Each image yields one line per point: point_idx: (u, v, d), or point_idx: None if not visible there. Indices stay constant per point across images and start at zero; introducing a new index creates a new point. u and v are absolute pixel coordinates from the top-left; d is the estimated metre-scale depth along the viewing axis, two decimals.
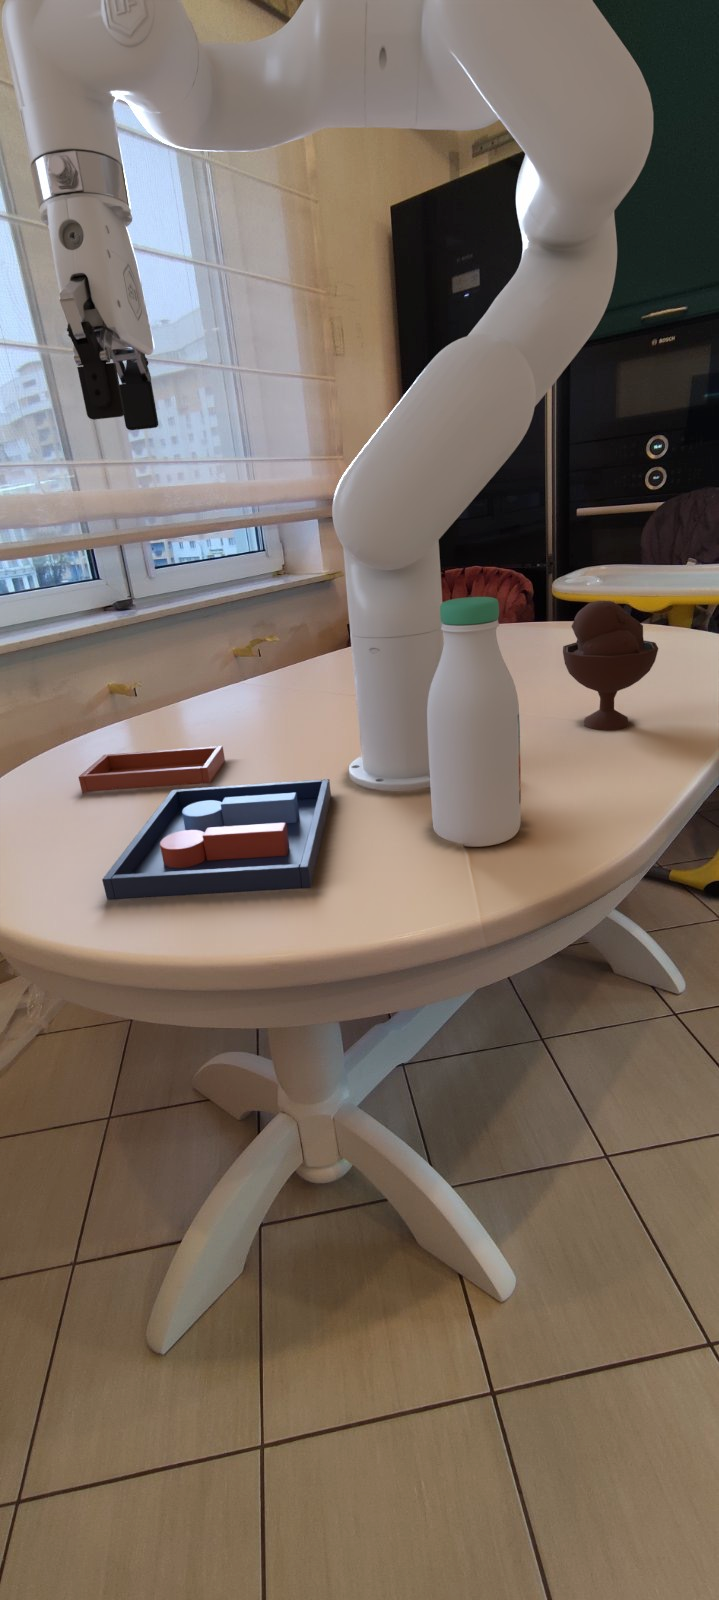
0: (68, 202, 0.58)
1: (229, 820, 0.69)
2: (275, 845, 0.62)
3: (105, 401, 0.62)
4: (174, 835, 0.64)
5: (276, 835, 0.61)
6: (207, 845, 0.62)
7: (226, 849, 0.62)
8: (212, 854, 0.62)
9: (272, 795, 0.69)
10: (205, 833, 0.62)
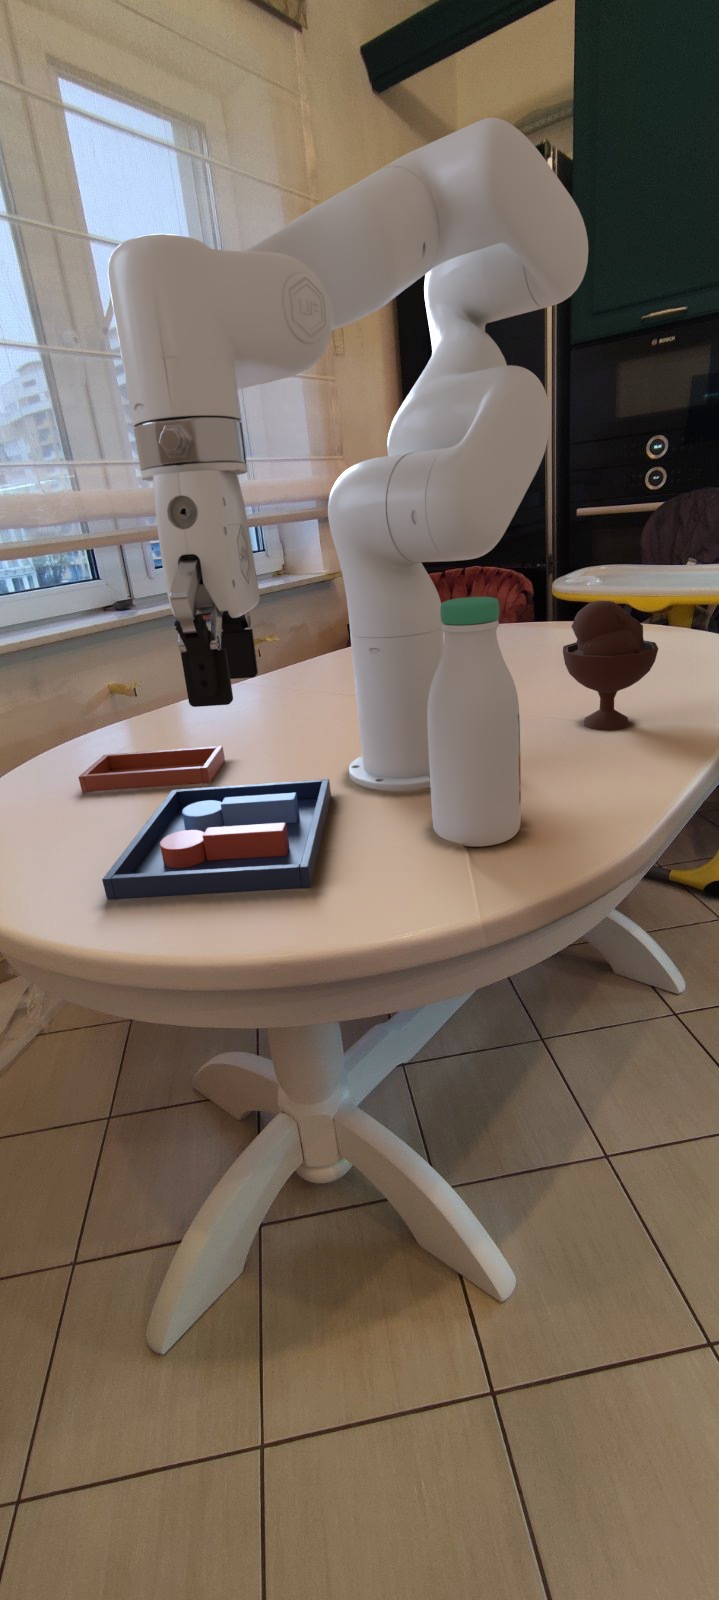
0: (181, 476, 0.48)
1: (229, 820, 0.69)
2: (275, 845, 0.62)
3: (213, 692, 0.52)
4: (174, 835, 0.64)
5: (276, 835, 0.61)
6: (207, 845, 0.62)
7: (226, 849, 0.62)
8: (212, 854, 0.62)
9: (272, 795, 0.69)
10: (205, 833, 0.62)
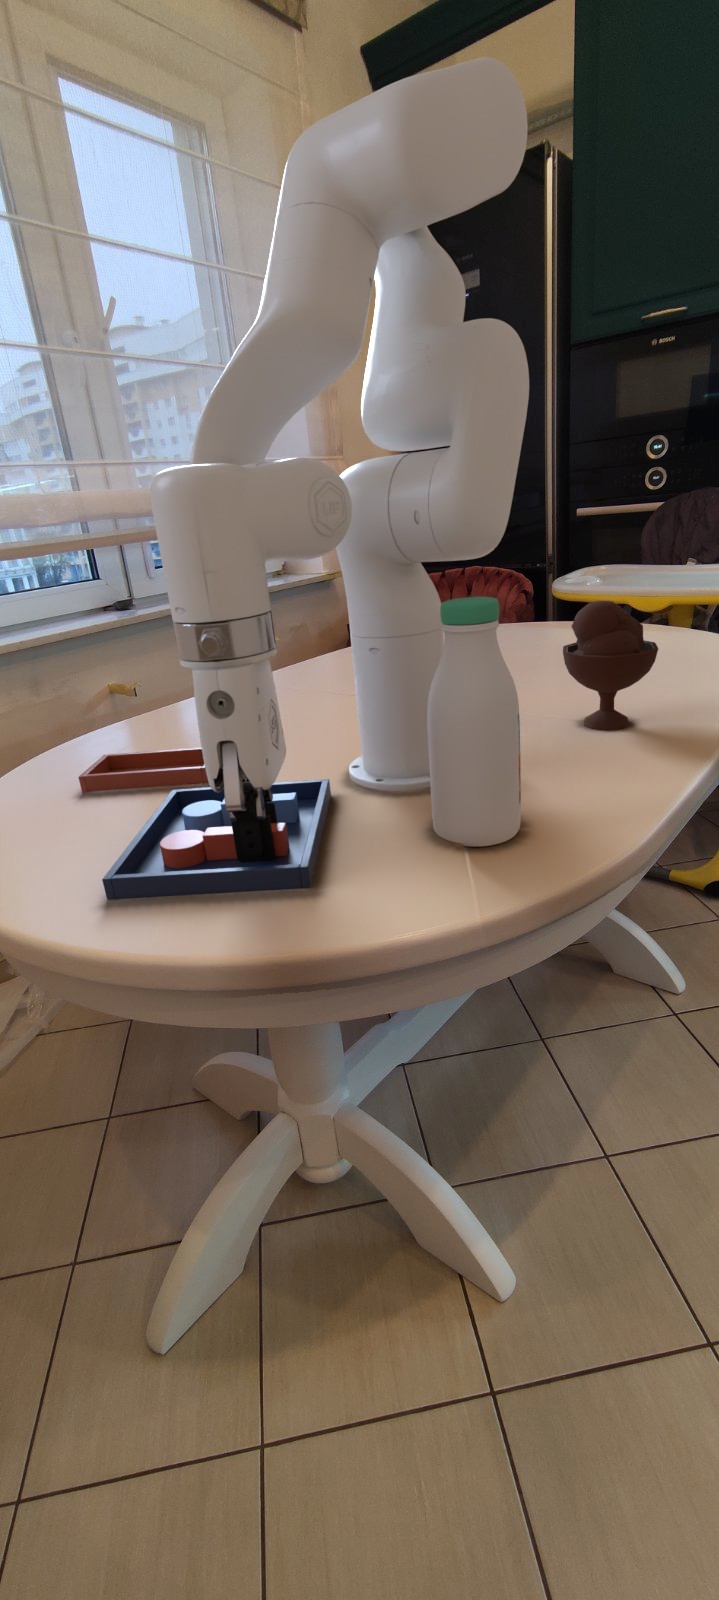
0: (219, 674, 0.53)
1: (229, 820, 0.69)
2: (275, 845, 0.62)
3: (259, 853, 0.60)
4: (174, 835, 0.64)
5: (276, 835, 0.61)
6: (207, 845, 0.62)
7: (226, 849, 0.62)
8: (212, 854, 0.62)
9: None
10: (205, 833, 0.62)
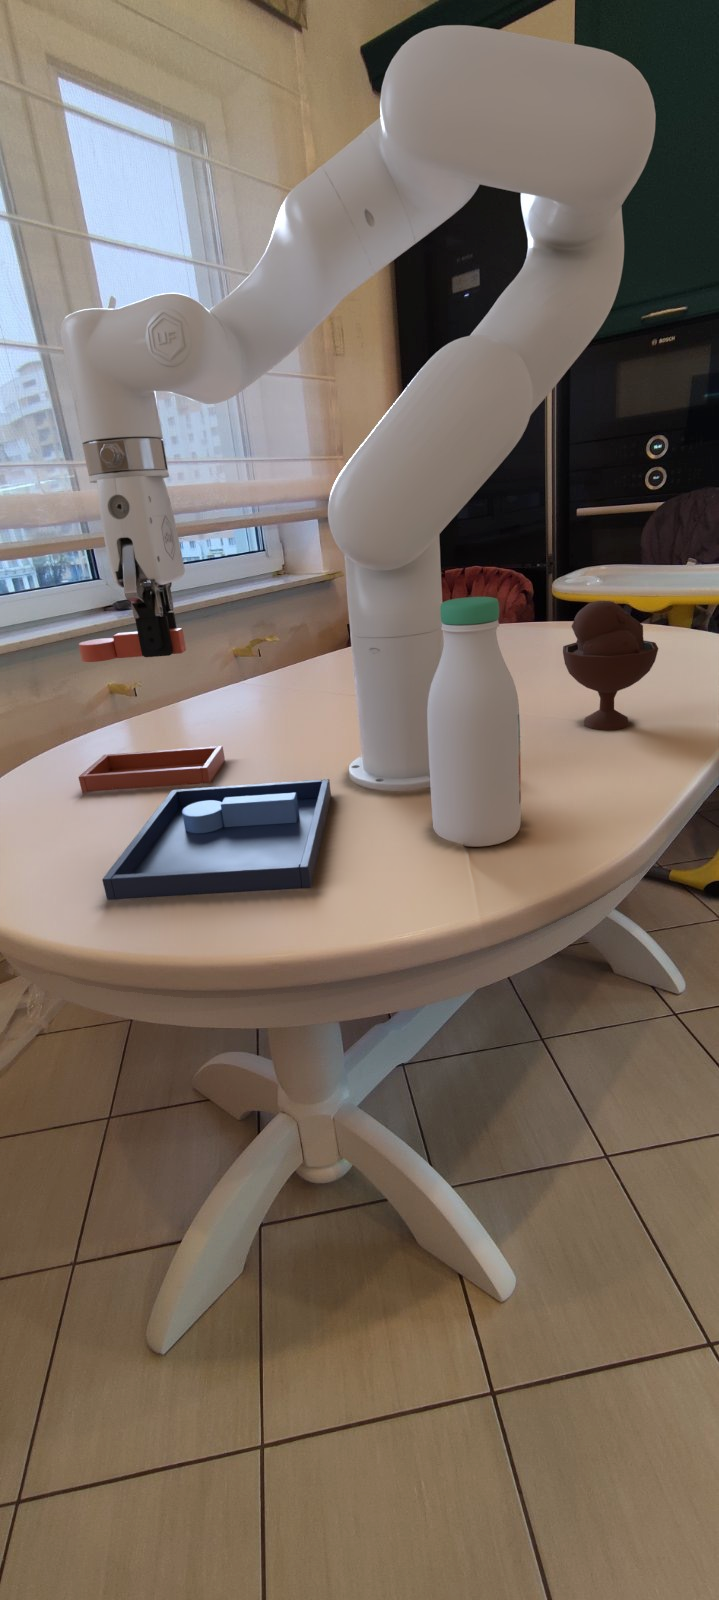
0: (116, 481, 0.67)
1: (229, 820, 0.69)
2: (172, 643, 0.76)
3: (158, 646, 0.74)
4: (92, 640, 0.78)
5: (172, 634, 0.75)
6: (117, 644, 0.76)
7: (133, 647, 0.76)
8: (121, 652, 0.76)
9: (272, 795, 0.69)
10: (115, 634, 0.76)
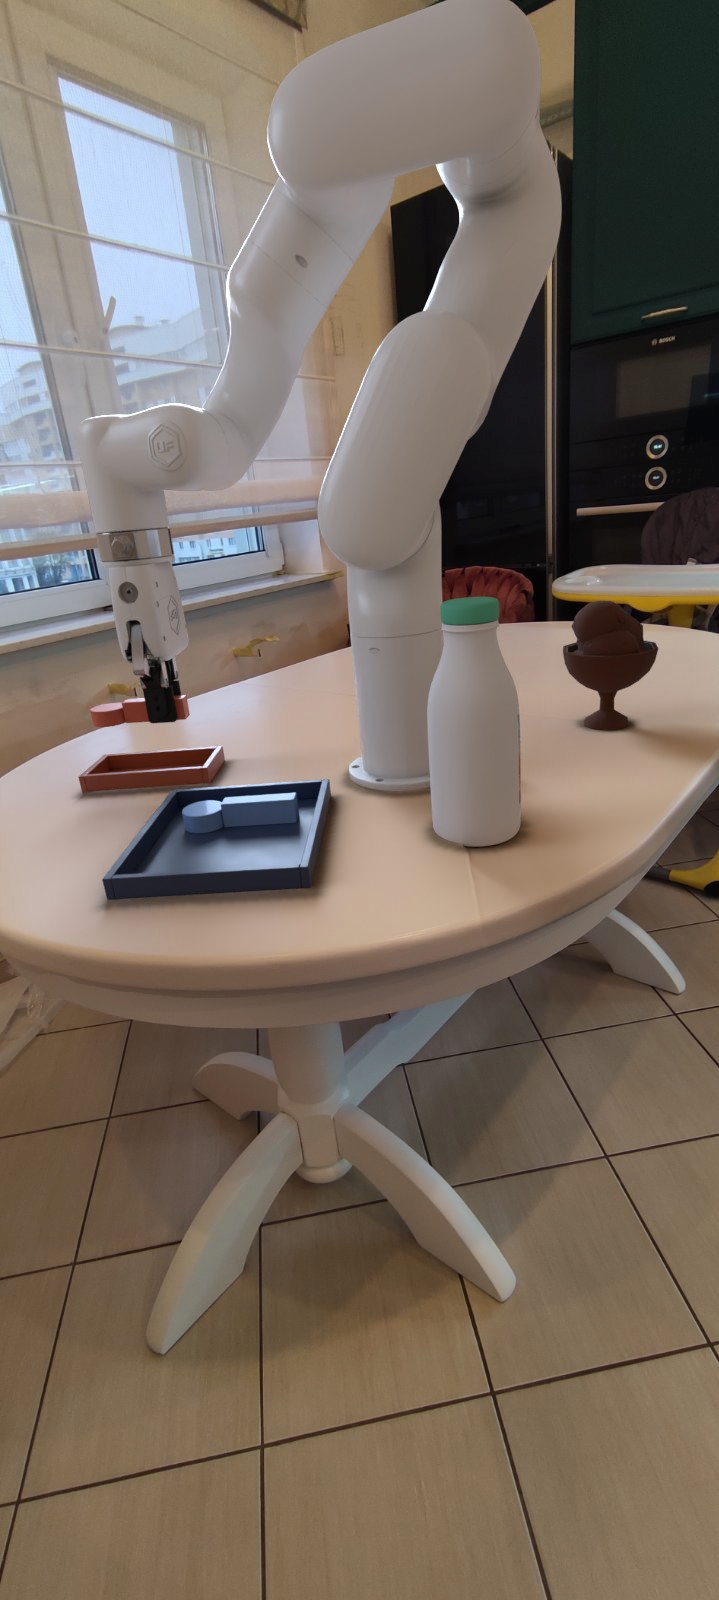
0: (126, 569, 0.72)
1: (229, 820, 0.69)
2: (177, 710, 0.81)
3: (163, 714, 0.80)
4: (102, 705, 0.83)
5: (177, 702, 0.81)
6: (125, 710, 0.82)
7: (140, 713, 0.82)
8: (129, 718, 0.82)
9: (272, 795, 0.69)
10: (124, 701, 0.82)
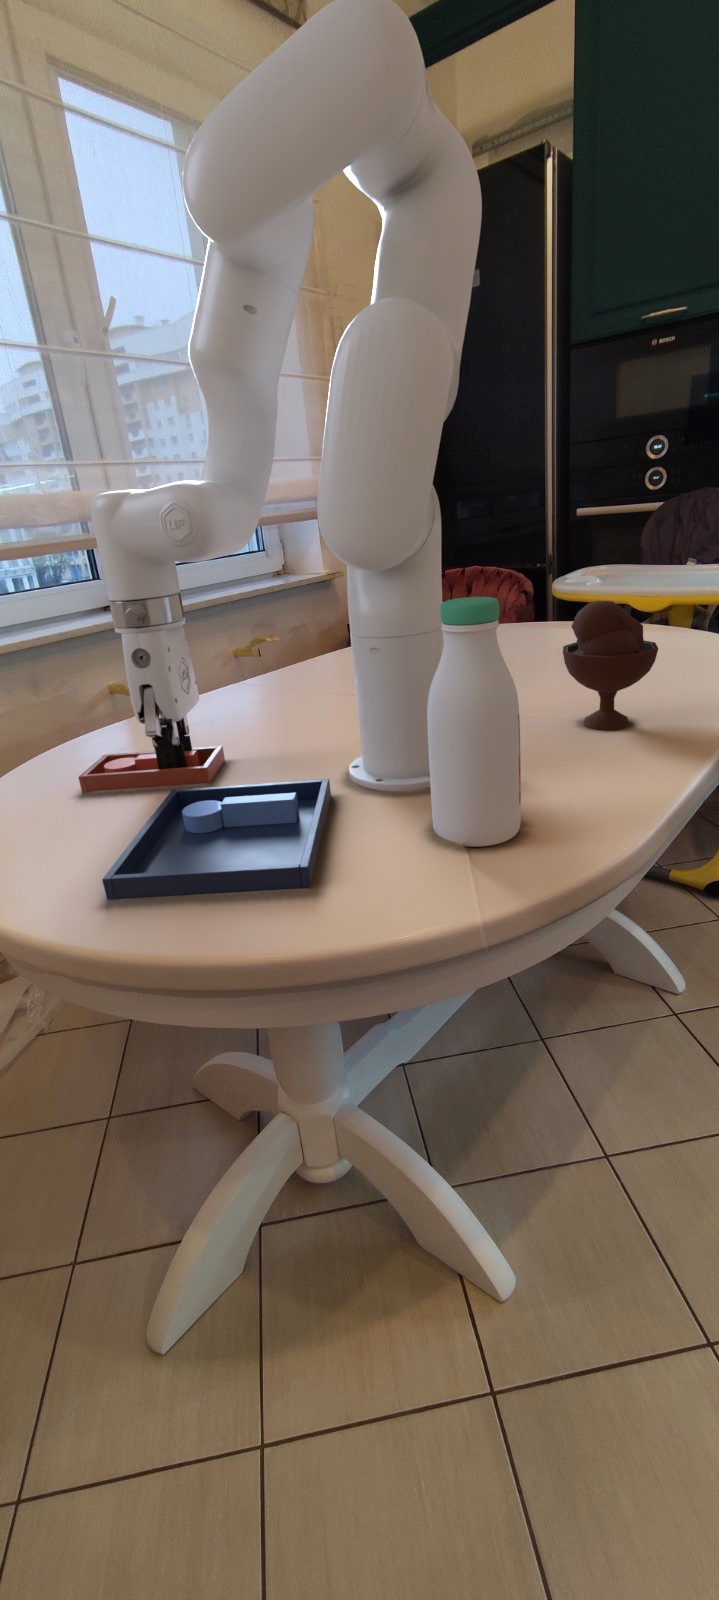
0: (139, 636, 0.75)
1: (229, 820, 0.69)
2: (188, 766, 0.84)
3: None
4: (115, 761, 0.86)
5: (188, 758, 0.84)
6: (138, 766, 0.84)
7: (152, 769, 0.84)
8: None
9: (272, 795, 0.69)
10: (137, 758, 0.84)
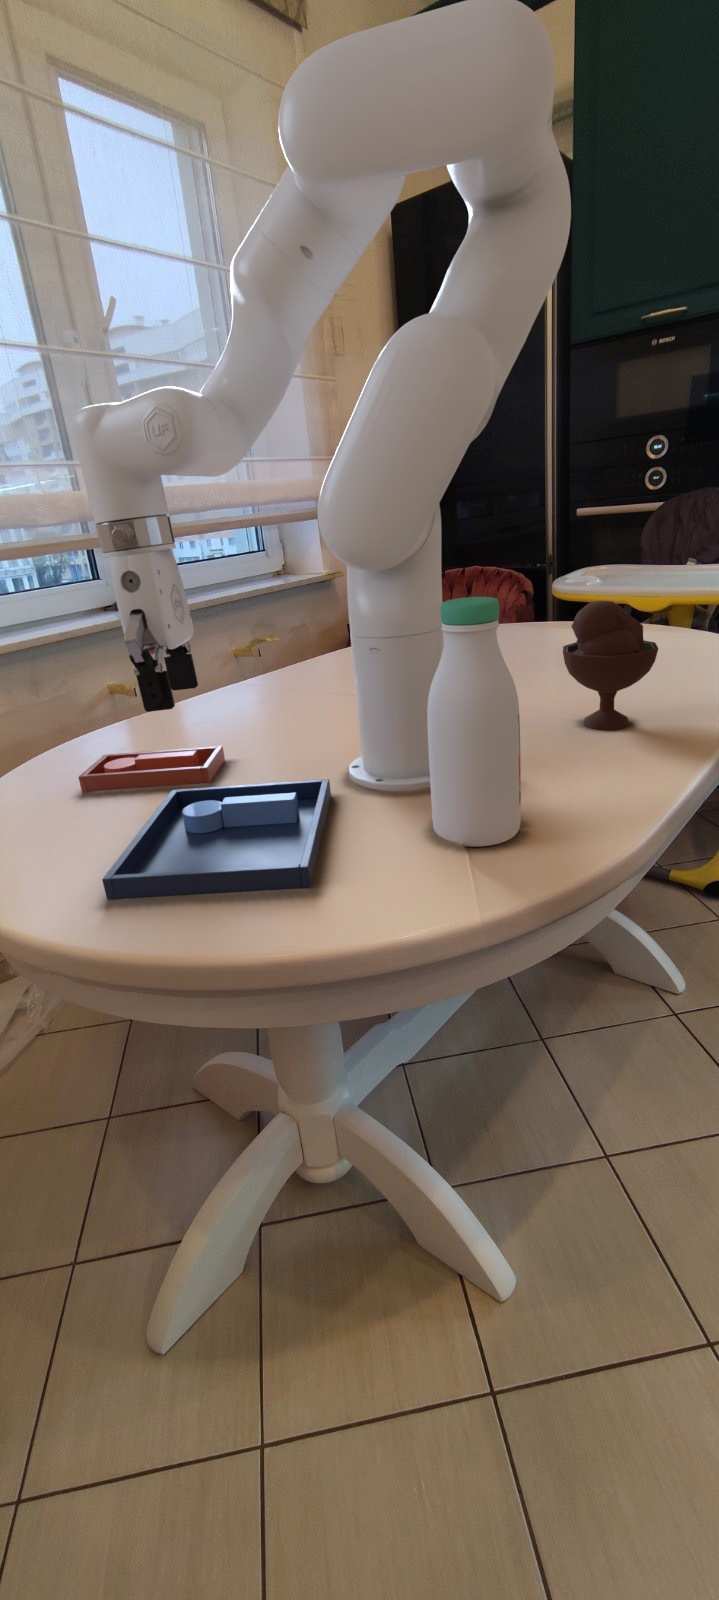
0: (127, 558, 0.72)
1: (229, 820, 0.69)
2: (188, 766, 0.84)
3: (159, 701, 0.76)
4: (115, 761, 0.86)
5: (188, 758, 0.84)
6: (138, 766, 0.84)
7: (152, 769, 0.84)
8: None
9: (272, 795, 0.69)
10: (137, 758, 0.84)
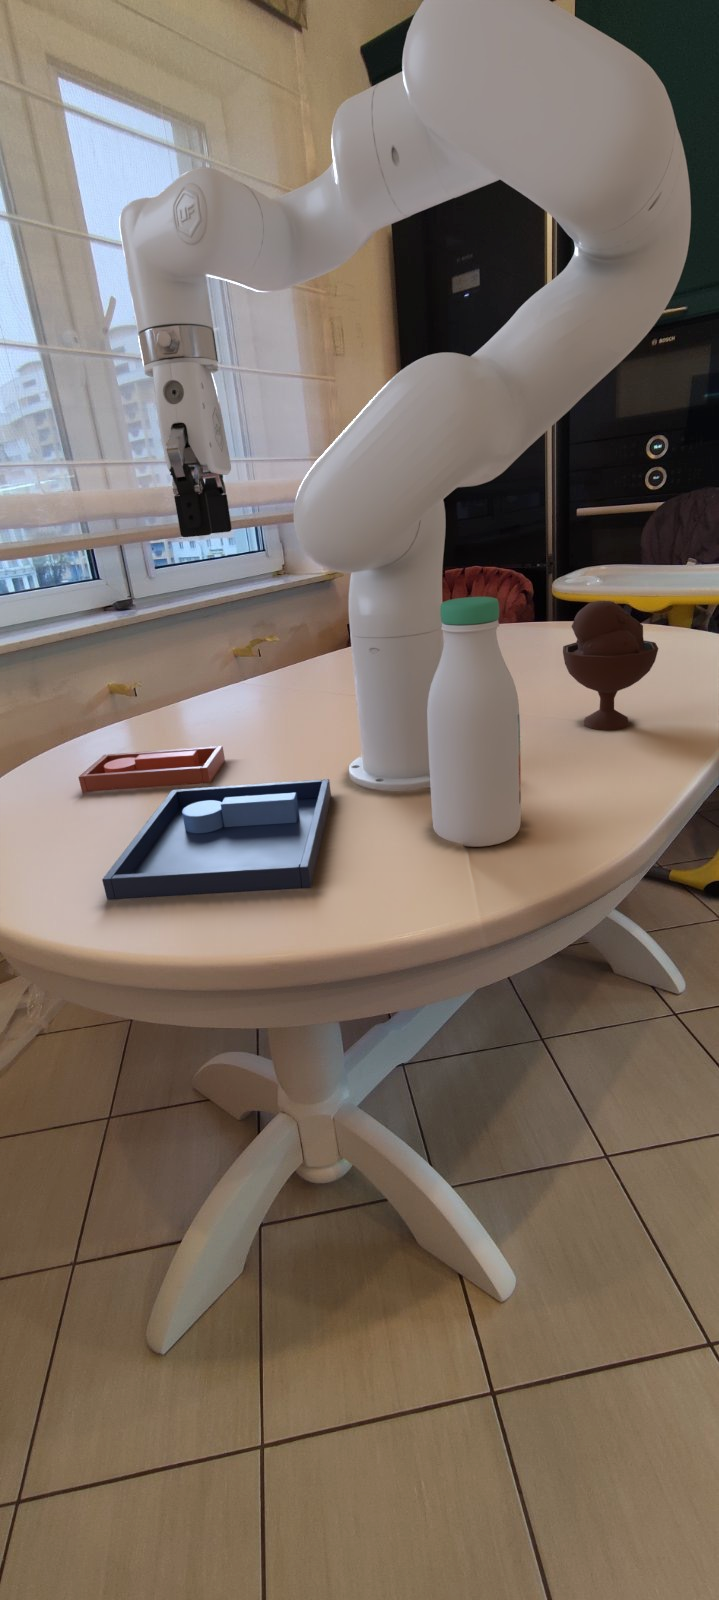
0: (172, 366, 0.70)
1: (229, 820, 0.69)
2: (188, 766, 0.84)
3: (197, 524, 0.74)
4: (115, 761, 0.86)
5: (188, 758, 0.84)
6: (138, 766, 0.84)
7: (152, 769, 0.84)
8: None
9: (272, 795, 0.69)
10: (137, 758, 0.84)
